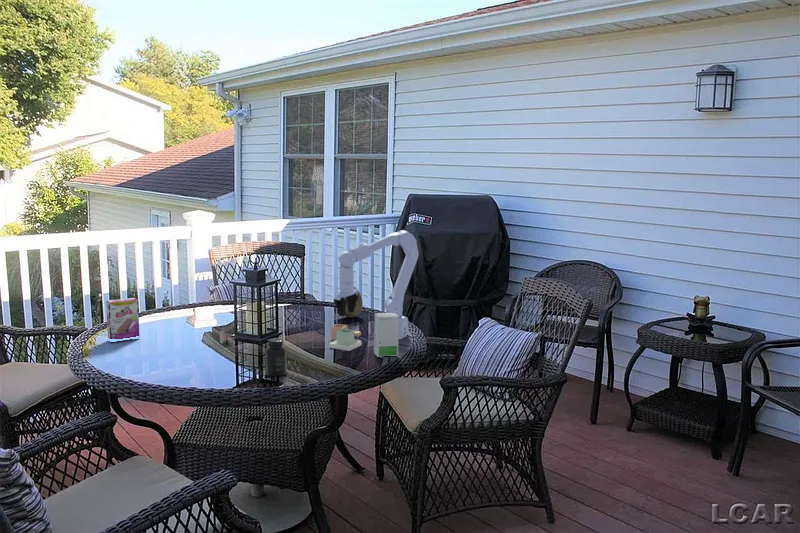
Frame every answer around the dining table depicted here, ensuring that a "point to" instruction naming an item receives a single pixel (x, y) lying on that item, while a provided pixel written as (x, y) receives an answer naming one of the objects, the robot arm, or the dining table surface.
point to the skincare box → (386, 334)
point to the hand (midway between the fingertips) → (346, 314)
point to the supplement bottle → (275, 358)
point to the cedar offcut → (357, 333)
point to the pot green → (345, 337)
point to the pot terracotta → (335, 329)
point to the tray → (345, 347)
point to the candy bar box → (122, 318)
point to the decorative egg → (357, 307)
